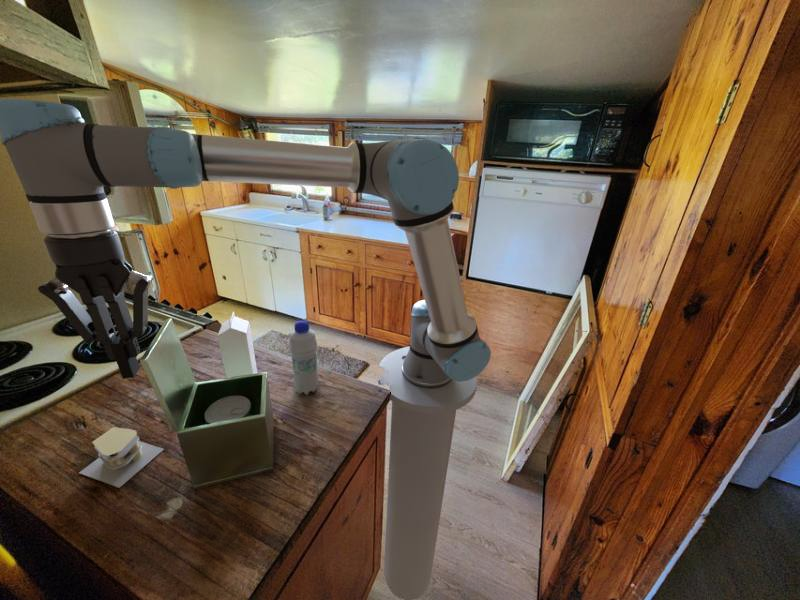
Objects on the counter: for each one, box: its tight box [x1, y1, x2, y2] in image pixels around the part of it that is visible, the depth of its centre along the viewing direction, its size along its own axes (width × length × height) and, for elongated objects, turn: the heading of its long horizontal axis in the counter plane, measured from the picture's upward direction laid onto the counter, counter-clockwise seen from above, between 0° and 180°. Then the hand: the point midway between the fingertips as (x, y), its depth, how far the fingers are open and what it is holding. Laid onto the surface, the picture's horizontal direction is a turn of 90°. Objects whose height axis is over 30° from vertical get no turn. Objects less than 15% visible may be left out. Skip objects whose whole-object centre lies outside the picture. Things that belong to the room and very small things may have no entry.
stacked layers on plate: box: [78, 426, 165, 488], centre depth 63 cm, size 10×9×6 cm
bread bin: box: [176, 371, 275, 490], centre depth 64 cm, size 14×14×14 cm
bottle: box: [288, 320, 320, 396], centre depth 82 cm, size 7×7×20 cm
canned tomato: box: [205, 396, 252, 424], centre depth 64 cm, size 8×8×11 cm
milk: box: [216, 310, 258, 378], centre depth 79 cm, size 6×6×22 cm
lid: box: [139, 317, 197, 433], centre depth 56 cm, size 14×14×1 cm
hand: (131, 373), depth 54 cm, fingers closed
